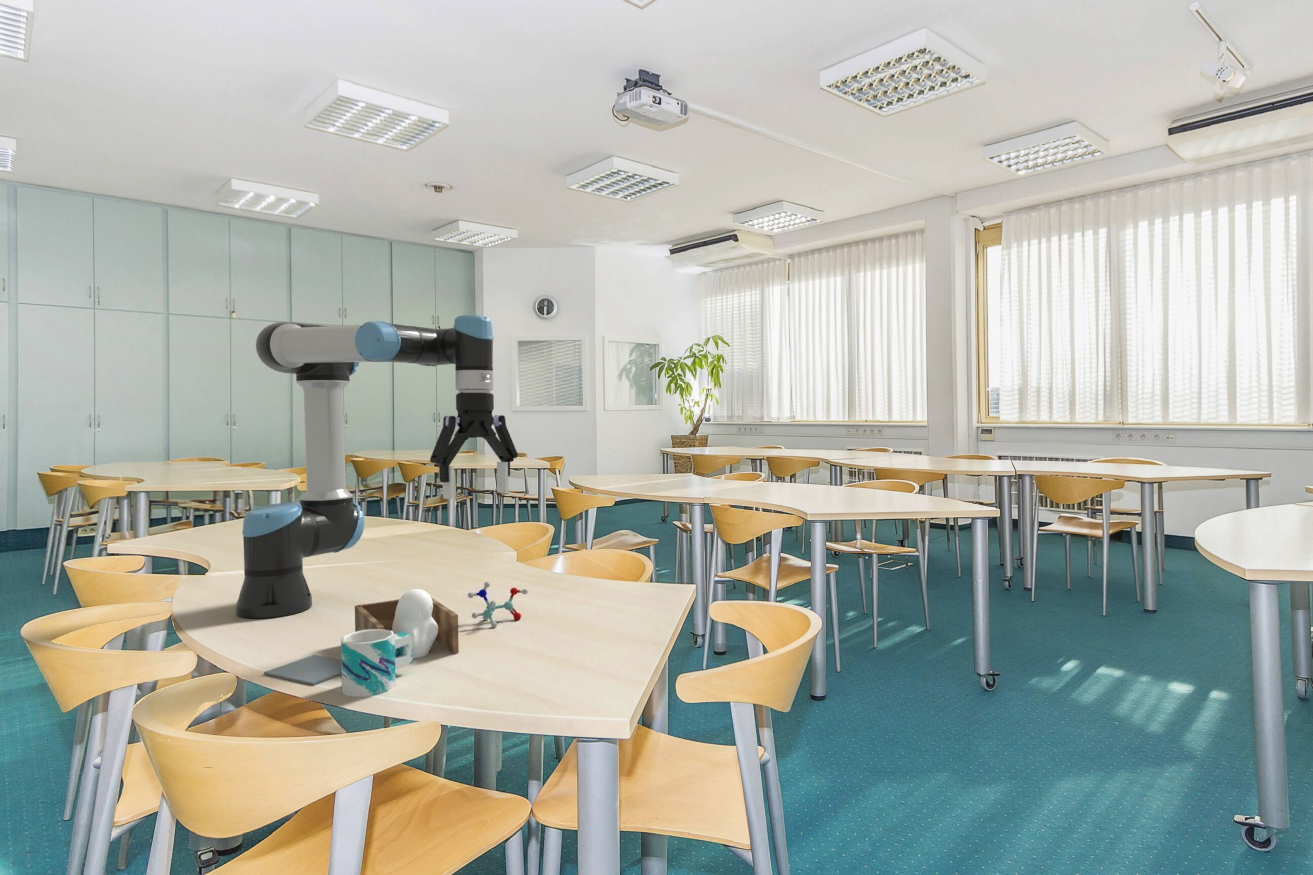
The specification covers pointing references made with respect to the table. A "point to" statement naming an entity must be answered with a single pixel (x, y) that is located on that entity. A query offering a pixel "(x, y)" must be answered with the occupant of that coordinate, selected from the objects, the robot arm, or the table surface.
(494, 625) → the molecular model
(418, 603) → the figurine
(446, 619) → the walnut box
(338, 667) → the felt mat
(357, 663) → the mug
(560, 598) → the table surface
